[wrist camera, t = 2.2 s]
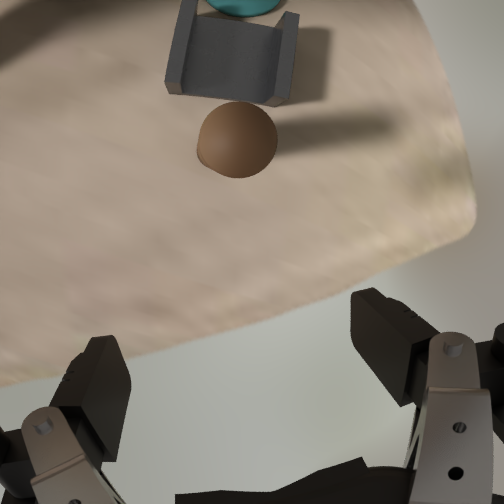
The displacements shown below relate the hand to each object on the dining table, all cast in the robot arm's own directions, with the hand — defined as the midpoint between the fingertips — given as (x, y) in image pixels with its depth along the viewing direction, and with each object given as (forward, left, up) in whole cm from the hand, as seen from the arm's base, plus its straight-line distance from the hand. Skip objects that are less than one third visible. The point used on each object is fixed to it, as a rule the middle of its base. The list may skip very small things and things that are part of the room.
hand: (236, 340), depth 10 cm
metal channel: (0, +18, -28) cm, 33 cm away
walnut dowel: (0, +7, -28) cm, 28 cm away
